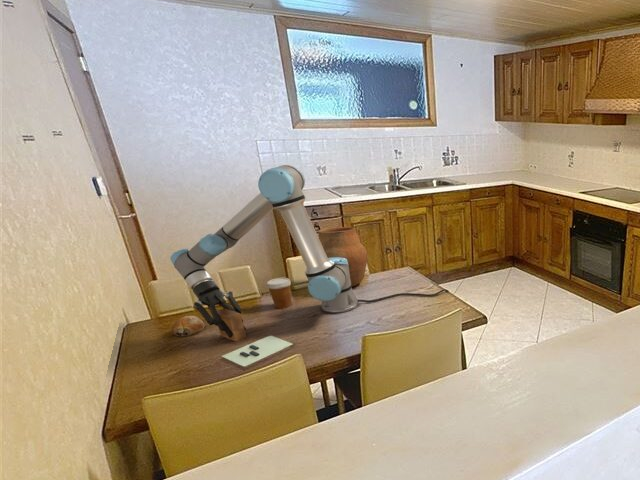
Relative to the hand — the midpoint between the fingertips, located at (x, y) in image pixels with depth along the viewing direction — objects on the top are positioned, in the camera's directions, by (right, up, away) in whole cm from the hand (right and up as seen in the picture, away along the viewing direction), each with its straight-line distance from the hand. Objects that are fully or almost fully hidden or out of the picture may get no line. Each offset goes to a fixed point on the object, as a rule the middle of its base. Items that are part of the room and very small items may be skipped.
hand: (237, 333), depth 163 cm
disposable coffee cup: (-2, +9, +33) cm, 34 cm away
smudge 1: (+10, -7, -10) cm, 15 cm away
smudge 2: (+10, -5, -6) cm, 12 cm away
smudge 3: (+13, -6, -10) cm, 17 cm away
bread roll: (-25, 0, +8) cm, 27 cm away
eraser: (-3, -2, +3) cm, 5 cm away
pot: (+16, +18, +58) cm, 62 cm away
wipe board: (+12, -6, -6) cm, 15 cm away
